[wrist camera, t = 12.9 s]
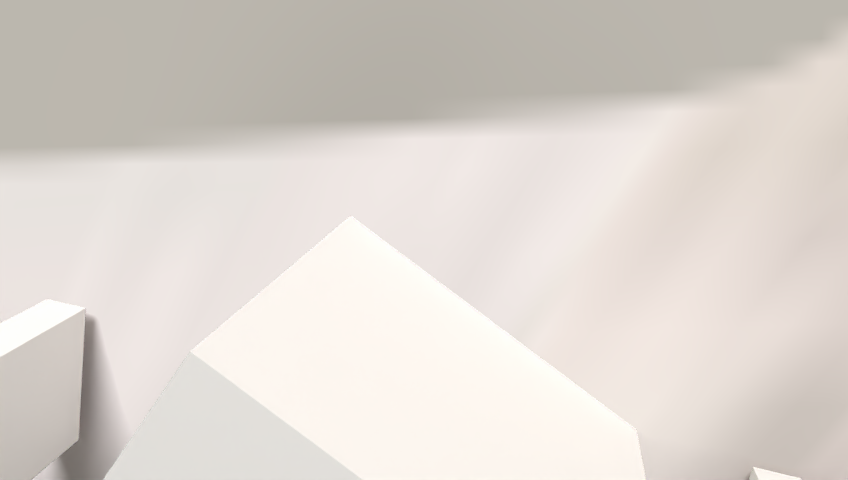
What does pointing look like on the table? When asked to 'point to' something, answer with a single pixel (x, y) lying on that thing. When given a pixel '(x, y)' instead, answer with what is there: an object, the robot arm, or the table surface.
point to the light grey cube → (371, 388)
